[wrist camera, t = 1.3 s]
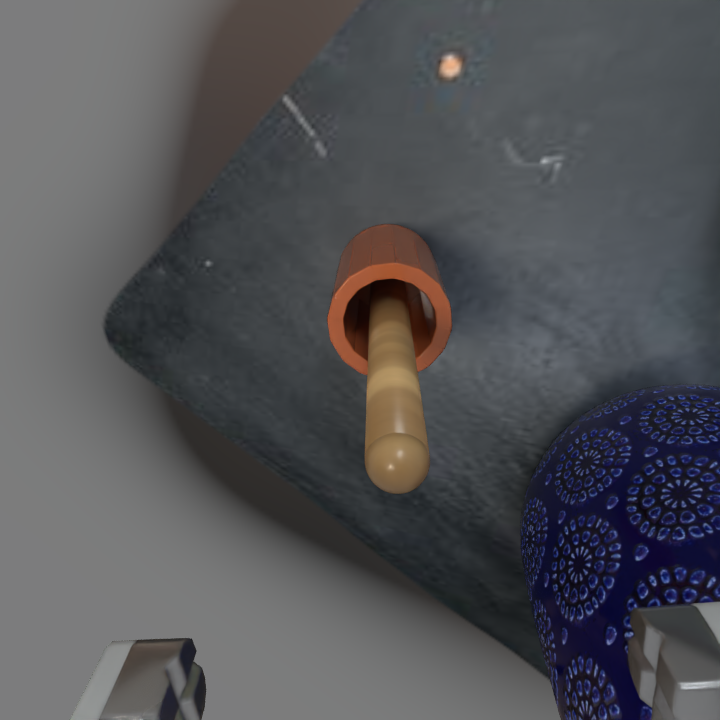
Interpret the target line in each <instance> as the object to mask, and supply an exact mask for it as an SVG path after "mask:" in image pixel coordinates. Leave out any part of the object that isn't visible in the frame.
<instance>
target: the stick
mask: <svg viewBox="0 0 720 720" xmlns="http://www.w3.org/2000/svg"><path fill="white" fill-rule="evenodd" d="M365 467H366V471H367V474H368V475H369V477H370V479H371V481H372V482H373V483H374V484H375V485H376V486H377V487H379V488H380V489H382V490H383V491H385V492H388V493H393V494H402V493H407V492H410V491H412V490H414V489H416V488H417V487H418V486H419V485H420V484H421V483H422V482H423V481H424V480H425V478H426V476H427V474H428V471H429V467H430V455H429V448H428V441H427V434H426V427H425V420H424V413H423V406H422V400H421V393H420V386H419V379H418V372H417V365H416V358H415V351H414V344H413V337H412V330H411V323H410V316H409V309H408V302H407V295H406V288H405V281H401V280H398V279H384V280H376V281H374V282H372V283H370V313H369V344H368V374H367V405H366V435H365Z"/></svg>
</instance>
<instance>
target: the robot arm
mask: <svg viewBox="0 0 720 720" xmlns="http://www.w3.org/2000/svg"><path fill="white" fill-rule="evenodd" d="M630 625H631V627H632V630H633V632H634V634H635V635H634V636H633V637H632V638H631V639H630V640H629V641H628V662H629V668H630V673H631V676H632V679H633V683H634V686H635V688H636V690H637V693H638V695H639V698H640V699H641V700H642V701H644V702H645V703H646V704H647V705H649V706H650V707H651V708H652V715H651V720H720V602H709V603H694V604H676V605H664V606H651V607H638V608H633V610H632V612H631V615H630ZM195 654H196V648H195V646H194V644H193V641H192V639H190V638H176V639H150V640H133V641H113V642H111V643H110V644H109V645H108V646H107V647H106V649H105V650H104V652H103V654H102V656H101V658H100V660H99V662H98V664H97V666H96V668H95V670H94V672H93V674H92V676H91V678H90V680H89V682H88V684H87V686H86V688H85V690H84V692H83V694H82V696H81V698H80V700H79V702H78V704H77V706H76V708H75V710H74V712H73V714H72V716H71V718H70V720H201V719H202V715H203V711H204V707H205V696H206V684H205V676H204V673H203V670H202V668H201V667H200V666H199V665H197V664H196V663H195V662H193V660H194V657H195Z"/></svg>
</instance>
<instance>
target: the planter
mask: <svg viewBox="0 0 720 720" xmlns="http://www.w3.org/2000/svg"><path fill="white" fill-rule="evenodd" d="M520 536H521V555H522V562H523V567H524V573H525V578H526V584H527V589H528V594H529V598H530V603H531V607H532V612H533V617H534V621H535V626H536V630H537V633H538V637H539V641H540V644H541V648H542V652H543V655H544V659H545V663H546V666H547V670H548V674H549V678H550V681H551V685H552V689H553V692H554V696H555V700H556V704H557V707H558V711H559V714H560V717H561V720H651V715H652V708H651V707H650V706H649V705H647V704H646V703H645V702H644V701H642V700H641V699H640V698H639V695H638V693H637V690H636V688H635V686H634V683H633V679H632V676H631V673H630V668H629V662H628V641H629V640H630V639H631V638H632V637H633V636H634V635H635V634H634V632H633V630H632V627H631V625H630V615H631V612H632V610H633V608H638V607H651V606H664V605H676V604H694V603H709V602H720V387H717V386H710V385H699V384H678V385H663V386H655V387H649V388H644V389H640V390H636V391H632V392H629V393H626V394H623V395H620V396H617V397H615V398H612V399H610V400H608V401H606V402H604V403H602V404H600V405H598V406H596V407H594V408H593V409H591V410H589V411H588V412H586V413H585V414H583V415H582V416H580V417H579V418H578V419H576V420H575V421H574V422H573V423H571V424H570V425H569V426H568V427H567V428H566V429H565V430H564V431H563V432H562V433H561V434H560V435H559V436H558V437H557V438H556V439H555V440H554V441H553V443H552V444H551V445H550V447H549V448H548V449H547V451H546V452H545V454H544V455H543V457H542V459H541V460H540V462H539V464H538V466H537V467H536V469H535V471H534V473H533V475H532V478H531V480H530V483H529V486H528V489H527V492H526V496H525V499H524V503H523V507H522V512H521V521H520Z"/></svg>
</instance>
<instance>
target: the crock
mask: <svg viewBox="0 0 720 720" xmlns="http://www.w3.org/2000/svg"><path fill="white" fill-rule="evenodd" d="M384 279H398V280H401V281H405V288H406V295H407V302H408V309H409V316H410V323H411V330H412V337H413V344H414V351H415V358H416V365H417V372H419V371H421V370H423V369H425V368H427V367H428V366H430V365H431V364H432V363H433V361H434V360H435V359H436V358H437V357H438V356H439V355H440V354H441V353H442V352H443V349H445V347H446V344H447V341H448V339H449V336H450V333H451V330H452V315H451V306H450V302H449V299H448V296H447V293H446V290H445V287H444V284H443V281H442V278H441V275H440V272H439V270H438V267H437V264H436V261H435V258H434V257H433V254H432V252H431V250H430V248H429V246H428V245H427V243H426V242H425V241H424V240H423V239H422V238H421V237H420V236H419V235H418V234H416V233H415V232H414V231H412V230H410V229H408V228H405V227H402V226H399V225H393V224H382V225H376V226H373V227H370V228H367V229H365V230H363V231H362V232H360V233H359V234H357V235H356V236H355V237H354V238H353V239H352V240H351V241H350V242H349V243H348V245H347V246H346V248H345V249H344V251H343V253H342V256H341V259H340V263H339V267H338V270H337V275H336V280H335V284H334V289H333V293H332V298H331V303H330V307H329V312H328V318H327V322H328V328H329V335H330V340H331V342H332V344H333V346H334V347H335V349H336V350H337V352H338V354H339V355H340V357H341V358H342V359H343V361H344V362H346V363H347V364H348V365H350V366H351V367H353V368H354V369H355V370H357V371H358V372H360V373H362V374H365V375H367V374H368V344H369V313H370V283H372V282H374V281H376V280H384Z"/></svg>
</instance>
